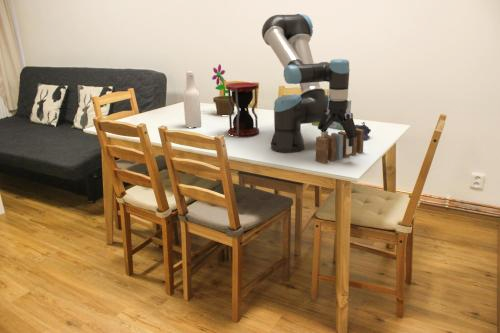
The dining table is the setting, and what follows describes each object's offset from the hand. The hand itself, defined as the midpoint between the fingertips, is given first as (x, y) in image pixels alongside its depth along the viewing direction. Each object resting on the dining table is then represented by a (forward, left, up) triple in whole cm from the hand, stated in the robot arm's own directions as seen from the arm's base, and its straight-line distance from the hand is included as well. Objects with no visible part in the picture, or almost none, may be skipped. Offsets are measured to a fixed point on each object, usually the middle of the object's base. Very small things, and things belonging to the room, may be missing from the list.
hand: (336, 150), depth 183 cm
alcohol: (-83, +39, -3) cm, 92 cm away
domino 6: (+8, +10, -3) cm, 13 cm away
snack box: (-10, +53, -4) cm, 54 cm away
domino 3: (0, 0, -3) cm, 3 cm away
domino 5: (+5, +7, -3) cm, 9 cm away
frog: (+7, +33, -4) cm, 34 cm away
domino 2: (-2, -3, -3) cm, 5 cm away
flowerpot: (-77, +72, -3) cm, 106 cm away
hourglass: (-51, +30, -3) cm, 59 cm away
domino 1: (-5, -7, -3) cm, 9 cm away
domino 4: (+2, +3, -3) cm, 5 cm away
